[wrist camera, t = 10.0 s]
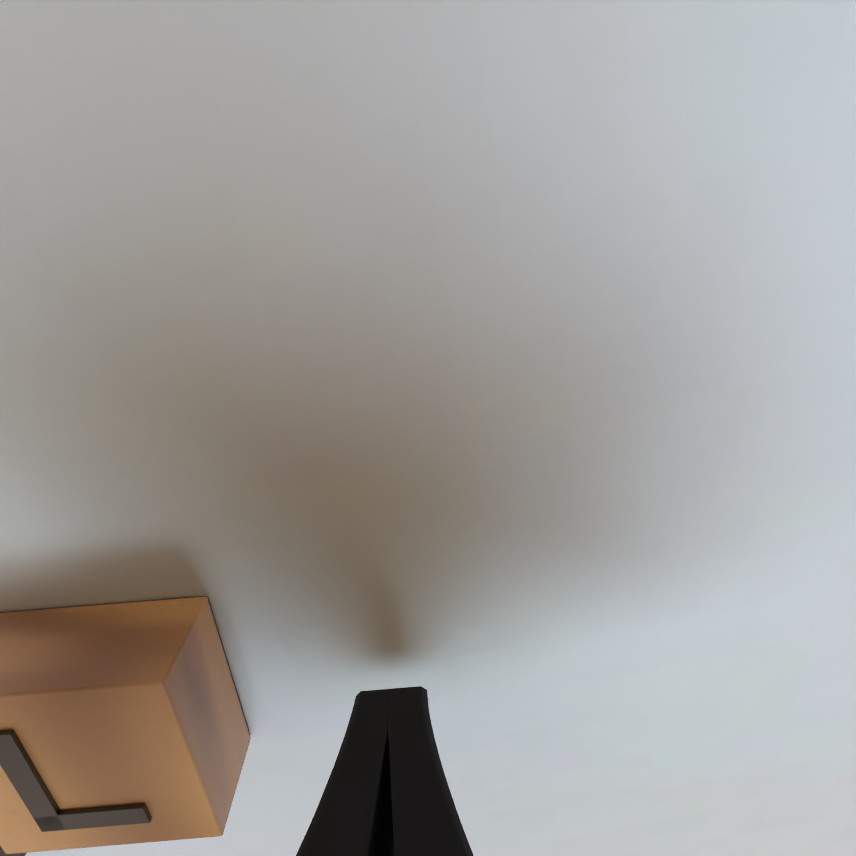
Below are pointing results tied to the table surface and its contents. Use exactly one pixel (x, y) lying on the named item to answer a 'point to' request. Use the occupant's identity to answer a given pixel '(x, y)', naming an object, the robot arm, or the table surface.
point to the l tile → (116, 726)
